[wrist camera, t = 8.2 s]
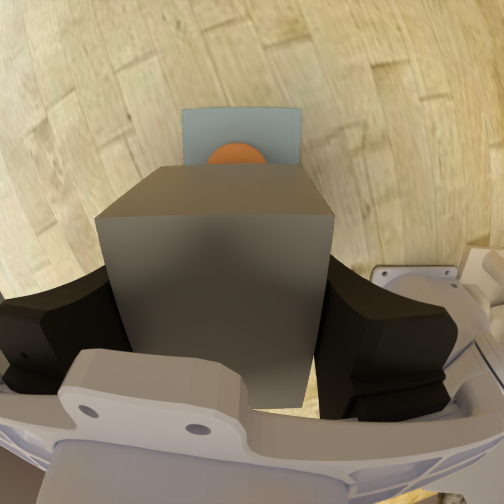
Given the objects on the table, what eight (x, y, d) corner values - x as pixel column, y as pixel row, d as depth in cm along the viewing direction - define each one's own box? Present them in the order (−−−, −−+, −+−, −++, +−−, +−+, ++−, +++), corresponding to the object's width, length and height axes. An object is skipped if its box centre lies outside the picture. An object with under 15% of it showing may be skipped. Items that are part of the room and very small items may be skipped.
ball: (271, 188, 16) (269, 212, 20) (267, 129, 17) (266, 160, 21) (198, 191, 16) (209, 214, 20) (201, 132, 17) (210, 163, 21)
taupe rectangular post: (289, 313, 16) (301, 407, 11) (180, 312, 16) (154, 402, 11) (299, 164, 12) (335, 214, 7) (160, 166, 12) (94, 218, 7)
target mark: (301, 108, 18) (301, 108, 18) (295, 218, 22) (296, 219, 22) (182, 109, 18) (182, 109, 18) (188, 217, 22) (187, 218, 22)
